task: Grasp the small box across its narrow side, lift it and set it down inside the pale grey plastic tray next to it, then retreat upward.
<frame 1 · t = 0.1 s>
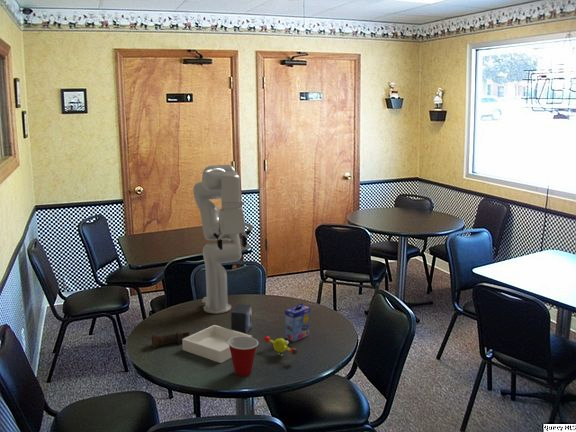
hand: (232, 247, 233), 37 cm above the table, tool pointing down, fingers open, 9 cm apart
tray: (217, 348, 228), on the table
ink cartridge box: (297, 337, 238), on the table
bolt: (172, 344, 233), on the table
plastic cup: (244, 373, 207), on the table
toy figure: (280, 355, 221), on the table
small box: (242, 332, 244), on the table
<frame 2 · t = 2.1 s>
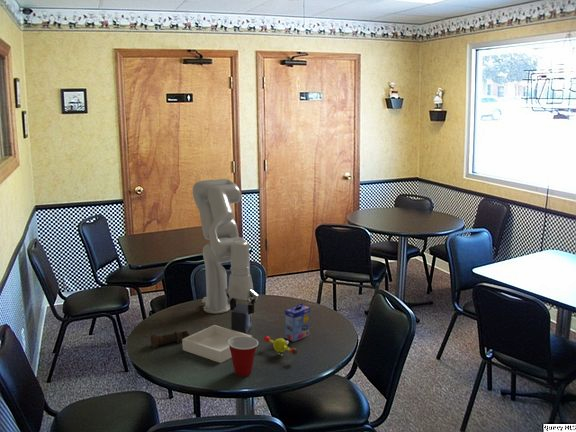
hand: (242, 311, 241), 9 cm above the table, tool pointing down, fingers open, 9 cm apart
small box: (242, 332, 244), on the table, touching gripper
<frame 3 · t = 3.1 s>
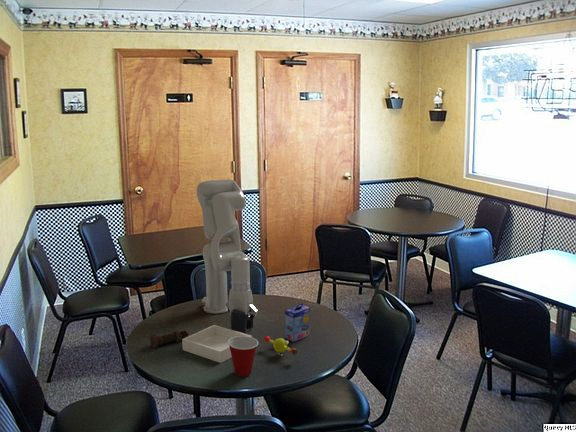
hand: (241, 325, 243), 3 cm above the table, tool pointing down, fingers closed on small box, 8 cm apart
small box: (242, 332, 244), on the table, touching gripper
when the fingers open (5 cm above the table, at t = 10.2 s): small box drops 2 cm, resting on tray.
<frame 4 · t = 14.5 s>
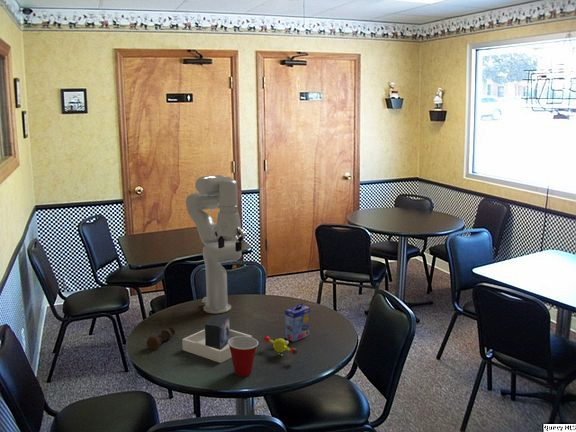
hand: (229, 249, 246), 33 cm above the table, tool pointing down, fingers open, 9 cm apart
bolt: (163, 343, 235), on the table
small box: (218, 346, 228), point 1 cm above the table, touching tray
everything else where it was.
at the end: small box inside the target area on the tray (0.2 cm from its centre), point 0.8 cm above the tray's base; small box tilted 0°; the gripper is holding nothing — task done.
